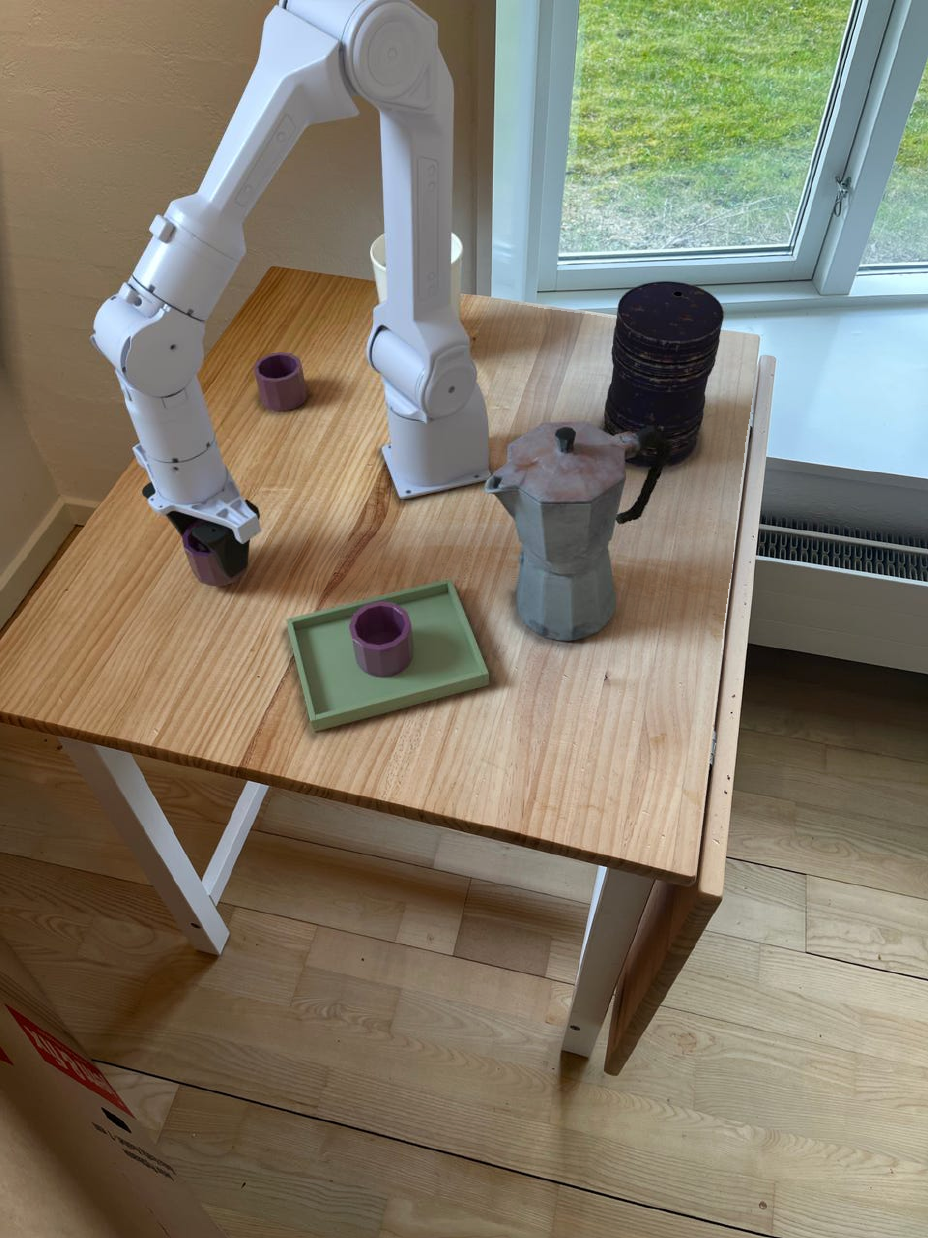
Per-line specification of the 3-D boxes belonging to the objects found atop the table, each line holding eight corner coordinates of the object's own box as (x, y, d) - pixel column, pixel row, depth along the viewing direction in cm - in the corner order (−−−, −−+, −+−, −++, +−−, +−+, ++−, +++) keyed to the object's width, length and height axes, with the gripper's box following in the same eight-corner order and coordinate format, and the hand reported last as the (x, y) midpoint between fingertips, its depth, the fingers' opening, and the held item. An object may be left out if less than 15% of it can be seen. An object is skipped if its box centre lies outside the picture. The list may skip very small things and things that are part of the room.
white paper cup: (384, 320, 112) (374, 224, 103) (467, 320, 112) (464, 223, 103) (377, 371, 106) (365, 274, 97) (464, 371, 106) (461, 273, 97)
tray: (451, 590, 86) (451, 577, 85) (489, 685, 79) (489, 673, 78) (288, 631, 84) (285, 618, 82) (313, 732, 77) (310, 721, 76)
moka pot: (467, 591, 86) (461, 416, 70) (617, 539, 89) (643, 362, 74) (512, 669, 80) (516, 498, 65) (669, 610, 84) (710, 435, 68)
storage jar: (684, 479, 94) (711, 352, 83) (589, 456, 97) (603, 329, 85) (707, 418, 100) (735, 291, 88) (617, 397, 102) (632, 272, 91)
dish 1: (243, 540, 89) (234, 510, 86) (252, 578, 86) (243, 548, 83) (190, 553, 88) (179, 522, 85) (197, 592, 85) (185, 562, 82)
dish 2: (405, 624, 83) (401, 595, 80) (420, 668, 80) (417, 640, 77) (349, 639, 82) (343, 610, 79) (362, 684, 79) (357, 655, 76)
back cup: (302, 378, 106) (296, 348, 103) (310, 405, 103) (305, 375, 100) (257, 387, 105) (250, 357, 102) (265, 415, 102) (258, 385, 99)
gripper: (84, 424, 77) (134, 540, 87) (193, 508, 70) (232, 622, 81) (156, 383, 80) (196, 499, 90) (266, 460, 73) (295, 575, 84)
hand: (217, 554), depth 86 cm, fingers closed on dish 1, 5 cm apart
